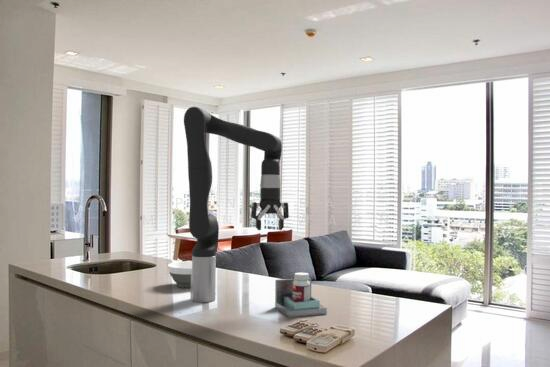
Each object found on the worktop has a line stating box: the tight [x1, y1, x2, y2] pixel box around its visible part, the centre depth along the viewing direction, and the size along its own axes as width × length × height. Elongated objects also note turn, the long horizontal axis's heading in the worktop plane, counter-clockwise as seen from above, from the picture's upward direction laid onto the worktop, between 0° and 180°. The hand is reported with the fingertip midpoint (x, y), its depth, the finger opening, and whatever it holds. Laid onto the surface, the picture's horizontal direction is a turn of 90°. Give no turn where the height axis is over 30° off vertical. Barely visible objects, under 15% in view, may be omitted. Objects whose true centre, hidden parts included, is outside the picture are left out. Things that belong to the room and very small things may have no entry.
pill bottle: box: [293, 272, 310, 302], centre depth 156 cm, size 6×6×11 cm
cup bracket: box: [274, 277, 328, 318], centre depth 157 cm, size 14×14×10 cm
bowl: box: [167, 260, 192, 289], centre depth 197 cm, size 20×20×10 cm
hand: (269, 229), depth 165 cm, fingers open, 8 cm apart
